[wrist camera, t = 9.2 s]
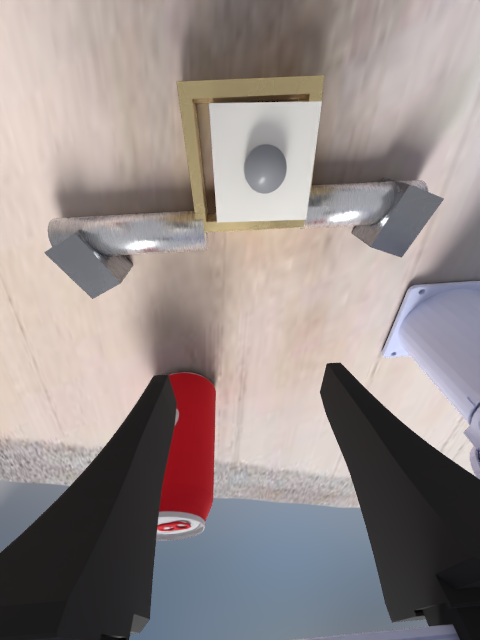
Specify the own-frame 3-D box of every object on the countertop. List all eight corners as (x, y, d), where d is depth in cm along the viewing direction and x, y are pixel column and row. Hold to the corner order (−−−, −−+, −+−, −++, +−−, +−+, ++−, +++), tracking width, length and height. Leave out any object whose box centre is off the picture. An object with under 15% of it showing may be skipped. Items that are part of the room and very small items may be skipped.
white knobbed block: (287, 113, 14) (329, 96, 8) (281, 196, 16) (310, 224, 11) (212, 115, 13) (206, 98, 8) (217, 198, 16) (215, 227, 11)
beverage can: (146, 373, 25) (98, 522, 15) (205, 361, 24) (194, 507, 15) (171, 408, 29) (144, 547, 19) (222, 398, 28) (222, 535, 18)
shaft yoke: (451, 77, 13) (499, 64, 11) (388, 262, 19) (411, 279, 17) (5, 96, 12) (-43, 87, 10) (87, 280, 19) (69, 300, 16)
